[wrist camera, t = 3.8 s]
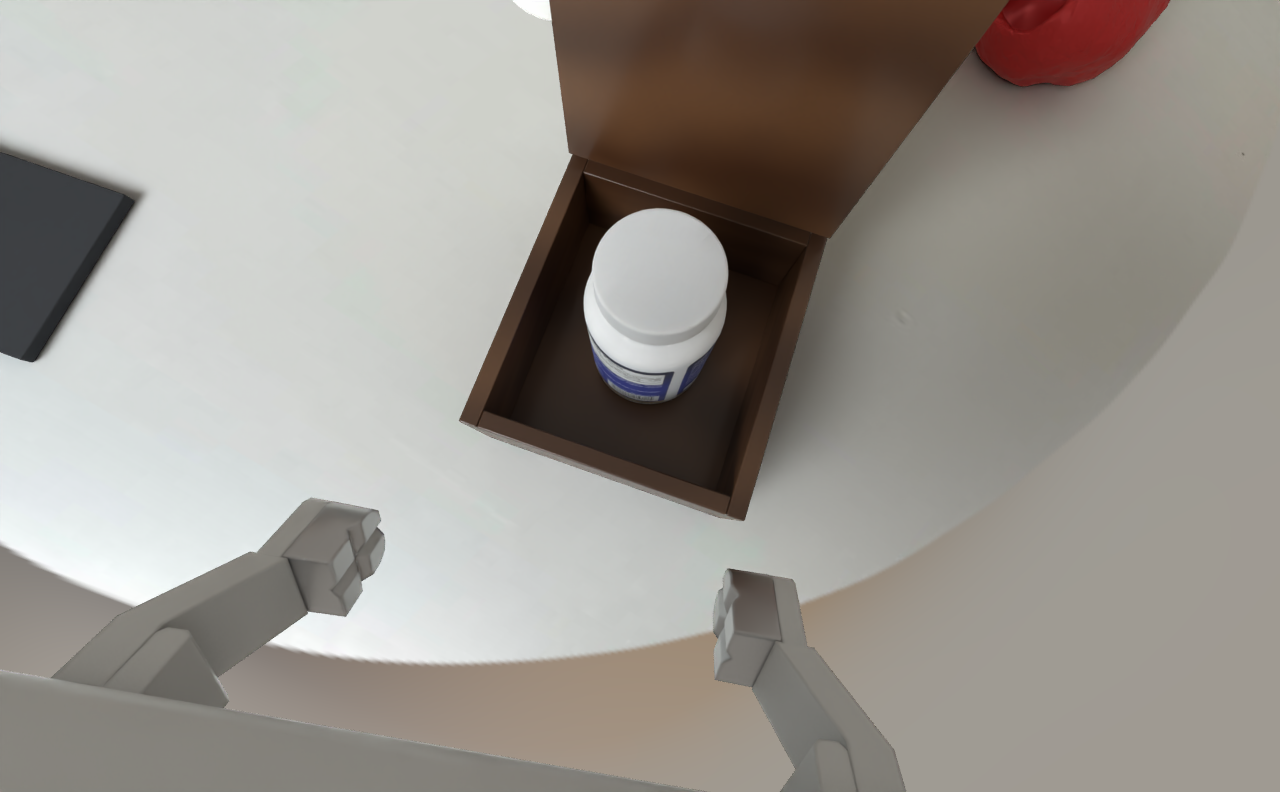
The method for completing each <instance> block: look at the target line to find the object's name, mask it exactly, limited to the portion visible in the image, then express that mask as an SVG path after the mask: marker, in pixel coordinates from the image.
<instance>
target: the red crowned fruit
mask: <svg viewBox="0 0 1280 792" xmlns="http://www.w3.org/2000/svg"><path fill="white" fill-rule="evenodd" d="M1169 2H1170V0H1009V2H1008V3H1007V4H1006V6H1005V7H1004V8H1003V9H1002V11H1001V12H1000V13H999V15H998V16H997V17H996V19H995V20H994V21H993V23H992V24H991V25H990V27H989V28H988V29H987V31H986V32H985V33H984V35H983V36H982V37H981V39H980V40H979V41H978V43H977V44H976V45H975V47H976V50H977V54H978V55H979V57H980V58H981V60H982V61H983V62H984V63H985V64H986V65H988V66H989V67H990V68H991V69H992V70H993V71H994V72H995V73H996V74H997V75H999V76H1000V77H1002V78H1004V79H1006V80H1008V81H1010V82H1011V83H1013V84H1015V85H1018V86H1030V85H1033V84H1040V83H1052V84H1054V85H1061V86H1071V85H1074V84H1078V83H1081V82H1085V81H1087V80H1090V79H1093V78H1095V77H1096V76H1098V75H1099V74H1101V73H1102V72H1104V71H1105V70H1107V69H1109V68H1110V67H1112V66H1113V65H1114V64H1115V63H1116V62H1118V61H1119V60H1120V59H1121V58H1123V57H1124V56H1125V55H1126V54H1127V53H1128V52H1129V51H1130V49H1131V48H1132V47H1133V46H1134V45H1135V43H1136V42H1137V41H1138V40H1139V39H1140V38H1141V37H1142V36H1143V35H1144V34H1145V32H1146V31H1147V30H1148V29H1149V28H1150V26H1151V25H1152V24H1153V23H1154V22H1155V21H1156V20H1157V18H1158V17H1159V16H1160V14H1161V13H1162V12H1163V11H1164V10H1165V9H1166V7H1167V6H1168V3H1169Z"/></svg>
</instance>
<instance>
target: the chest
mask: <svg viewBox="0 0 1280 792" xmlns="http://www.w3.org/2000/svg"><path fill="white" fill-rule="evenodd" d="M654 208H666V209H672V210H677V211H681V212H684V213H687V214H689V215H691V216H693V217H695V218H696V219H698V220H700V221H701V222H703V223H704V224H705V225H706V226H708V227H709V228H710V229H711V230H712V232H713V233H714V234H715V235H716V236H717V238H718V240H719V241H720V243H721V245H722V246H723V249H724V251H725V254H726V258H727V263H728V283H727V288H726V299H727V310H726V317H725V322H724V325H723V328H722V331H721V333H720V335H719V337H718V339H717V341H716V343H715V345H714V347H713V349H712V351H711V352H710V354H709V356H708V358H707V360H706V362H705V364H704V366H703V368H702V369H701V371H700V373H699V375H698V377H697V378H696V380H695V381H694V382H693V384H692V385H691V386H690V387H689V388H688V389H687V390H686V391H685V392H683V393H682V394H681V395H679V396H677V397H676V398H674V399H672V400H669V401H666V402H662V403H657V404H642V403H636V402H632V401H630V400H627V399H625V398H623V397H621V396H619V395H618V394H616V393H615V392H614V391H613V390H612V389H611V388H610V387H609V386H608V385H607V384H606V383H605V382H604V380H603V379H602V377H601V375H600V374H599V371H598V369H597V367H596V364H595V360H594V355H593V351H592V346H591V342H590V337H589V333H588V329H587V325H586V321H585V315H584V293H585V288H586V284H587V281H588V279H589V276H590V274H591V272H592V264H593V258H594V255H595V251H596V249H597V247H598V245H599V242H600V241H601V239H602V238H603V236H604V235H605V233H606V232H607V231H608V230H609V229H610V228H611V227H612V226H613V225H614V224H615V223H617V222H618V221H619V220H621V219H623V218H624V217H626V216H628V215H630V214H632V213H635V212H638V211H641V210H646V209H654ZM826 241H827V237H824V236H821V235H818V234H814V233H811V232H808V231H805V230H802V229H799V228H796V227H793V226H790V225H787V224H784V223H781V222H778V221H775V220H772V219H769V218H766V217H763V216H760V215H757V214H754V213H750V212H747V211H744V210H741V209H738V208H735V207H732V206H729V205H726V204H723V203H720V202H717V201H714V200H711V199H708V198H705V197H702V196H699V195H696V194H693V193H690V192H686V191H683V190H680V189H677V188H674V187H671V186H668V185H665V184H662V183H659V182H656V181H653V180H650V179H647V178H644V177H641V176H638V175H635V174H632V173H629V172H625V171H622V170H619V169H616V168H613V167H610V166H607V165H604V164H601V163H598V162H595V161H592V160H588V159H586V158H583V157H580V156H577V155H574V154H573V155H572V157H571V160H570V162H569V164H568V167H567V169H566V171H565V174H564V176H563V178H562V181H561V183H560V185H559V188H558V190H557V192H556V195H555V197H554V199H553V202H552V204H551V206H550V209H549V211H548V213H547V216H546V218H545V220H544V223H543V225H542V227H541V230H540V232H539V234H538V237H537V239H536V241H535V244H534V246H533V248H532V251H531V253H530V256H529V258H528V260H527V263H526V265H525V267H524V270H523V272H522V274H521V277H520V279H519V281H518V284H517V286H516V288H515V291H514V293H513V295H512V298H511V300H510V302H509V305H508V307H507V309H506V312H505V314H504V316H503V319H502V321H501V323H500V326H499V328H498V330H497V333H496V335H495V337H494V340H493V342H492V344H491V347H490V349H489V351H488V354H487V356H486V358H485V361H484V363H483V365H482V368H481V370H480V372H479V375H478V377H477V379H476V382H475V384H474V386H473V389H472V391H471V393H470V396H469V398H468V401H467V403H466V405H465V408H464V410H463V412H462V415H461V417H460V419H459V421H460V422H461V423H463V424H465V425H467V426H469V427H471V428H473V429H475V430H477V431H479V432H481V433H483V434H485V435H488V436H490V437H492V438H494V439H497V440H500V441H503V442H506V443H509V444H511V445H514V446H517V447H520V448H523V449H526V450H529V451H531V452H534V453H537V454H540V455H543V456H546V457H548V458H551V459H554V460H557V461H560V462H563V463H565V464H568V465H571V466H574V467H577V468H580V469H582V470H585V471H588V472H591V473H594V474H597V475H599V476H602V477H605V478H608V479H611V480H614V481H617V482H619V483H622V484H625V485H628V486H631V487H634V488H636V489H639V490H642V491H645V492H648V493H651V494H653V495H656V496H659V497H662V498H665V499H668V500H670V501H673V502H676V503H679V504H682V505H685V506H687V507H690V508H693V509H696V510H699V511H702V512H705V513H707V514H710V515H713V516H716V517H719V518H725V519H731V520H738V521H744V520H745V517H746V514H747V511H748V507H749V504H750V500H751V497H752V493H753V490H754V487H755V483H756V480H757V476H758V473H759V470H760V466H761V463H762V459H763V456H764V452H765V449H766V446H767V442H768V439H769V435H770V432H771V429H772V425H773V422H774V418H775V415H776V411H777V408H778V405H779V401H780V398H781V394H782V391H783V388H784V384H785V381H786V377H787V374H788V371H789V367H790V364H791V360H792V357H793V353H794V350H795V347H796V343H797V340H798V336H799V333H800V330H801V326H802V323H803V319H804V316H805V312H806V309H807V306H808V302H809V299H810V295H811V292H812V289H813V285H814V282H815V278H816V275H817V271H818V268H819V265H820V261H821V258H822V254H823V251H824V248H825V244H826Z"/></svg>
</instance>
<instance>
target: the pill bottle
mask: <svg viewBox="0 0 1280 792" xmlns="http://www.w3.org/2000/svg"><path fill="white" fill-rule="evenodd" d="M727 283H728V263H727V258H726V254H725V251H724V249H723V246H722V245H721V243H720V241H719V240H718V238H717V236H716V235H715V234H714V233H713V232H712V230H711V229H710V228H709V227H708V226H706V225H705V224H704V223H703V222H701V221H700V220H698V219H696V218H695V217H693V216H691V215H689V214H687V213H684V212H681V211H677V210H672V209H666V208H654V209H646V210H641V211H638V212H635V213H632V214H630V215H628V216H626V217H624V218H623V219H621V220H619V221H618V222H617V223H615V224H614V225H613V226H612V227H611V228H610V229H609V230H608V231H607V232H606V233H605V235H604V236H603V238H602V239H601V241H600V242H599V245H598V247H597V249H596V251H595V255H594V258H593V264H592V272H591V274H590V276H589V279H588V281H587V284H586V288H585V293H584V315H585V321H586V325H587V329H588V333H589V337H590V342H591V346H592V351H593V355H594V360H595V364H596V367H597V369H598V371H599V374H600V375H601V377H602V379H603V380H604V382H605V383H606V384H607V385H608V386H609V387H610V388H611V389H612V390H613V391H614V392H615V393H616V394H618V395H619V396H621V397H623V398H625V399H627V400H630V401H632V402H636V403H642V404H657V403H662V402H666V401H669V400H672V399H674V398H676V397H677V396H679V395H681V394H682V393H683V392H685V391H686V390H687V389H688V388H689V387H690V386H691V385H692V384H693V382H694V381H695V380H696V378H697V377H698V375H699V373H700V371H701V369H702V368H703V366H704V364H705V362H706V360H707V358H708V356H709V354H710V352H711V351H712V349H713V347H714V345H715V343H716V341H717V339H718V337H719V335H720V333H721V331H722V328H723V325H724V322H725V317H726V310H727V299H726V288H727Z"/></svg>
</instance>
